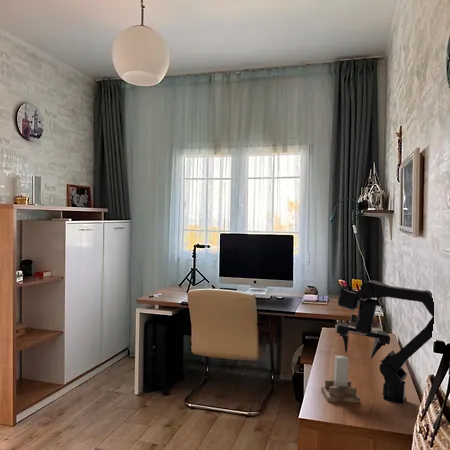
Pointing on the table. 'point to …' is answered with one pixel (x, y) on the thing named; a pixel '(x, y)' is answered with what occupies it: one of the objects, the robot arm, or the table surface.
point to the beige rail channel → (340, 392)
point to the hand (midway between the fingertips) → (358, 355)
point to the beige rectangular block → (341, 371)
